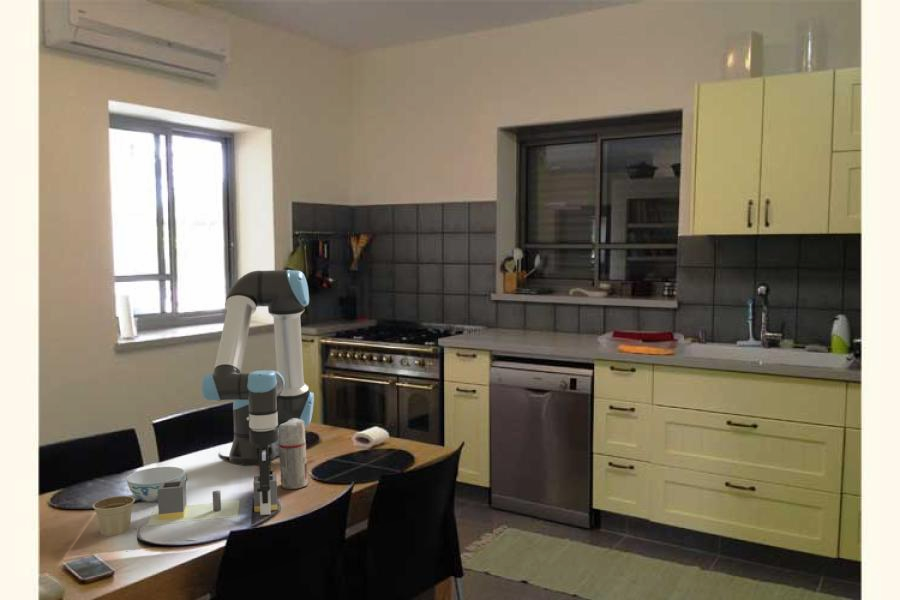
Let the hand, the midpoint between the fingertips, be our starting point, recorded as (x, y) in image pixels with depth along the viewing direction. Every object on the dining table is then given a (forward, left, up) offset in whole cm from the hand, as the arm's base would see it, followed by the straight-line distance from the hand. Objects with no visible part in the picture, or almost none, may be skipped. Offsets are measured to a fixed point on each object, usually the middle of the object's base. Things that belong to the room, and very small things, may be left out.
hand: (266, 506), depth 190 cm
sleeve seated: (+3, -23, +1) cm, 24 cm away
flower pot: (+10, -36, 0) cm, 37 cm away
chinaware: (-13, -30, 0) cm, 33 cm away
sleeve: (0, 0, 0) cm, 0 cm away
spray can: (-16, +8, 0) cm, 18 cm away
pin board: (+3, -18, 0) cm, 18 cm away
